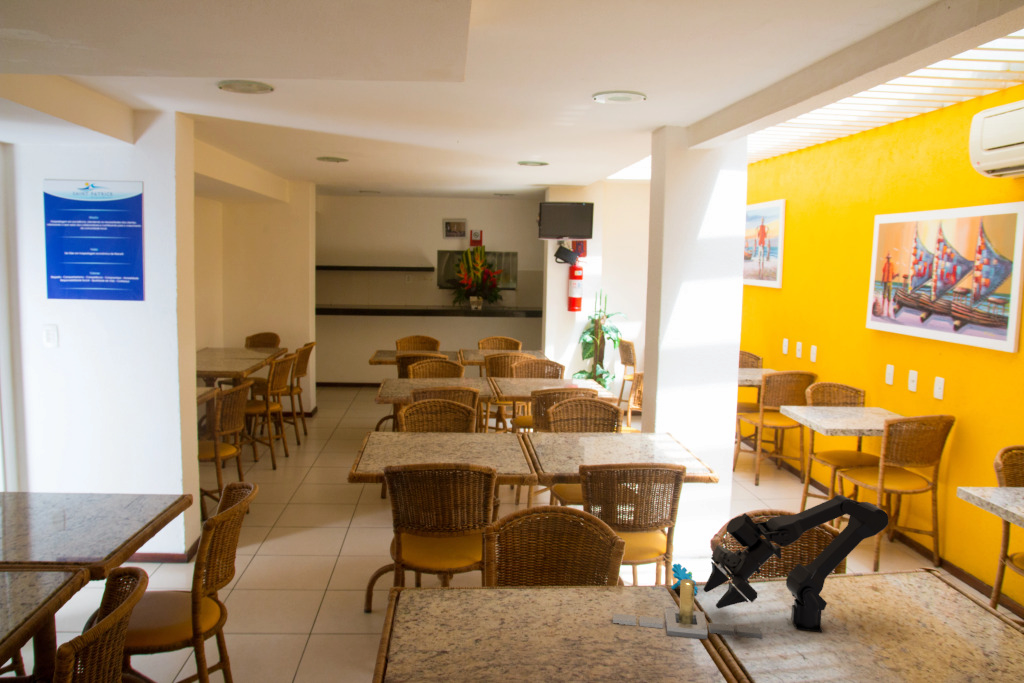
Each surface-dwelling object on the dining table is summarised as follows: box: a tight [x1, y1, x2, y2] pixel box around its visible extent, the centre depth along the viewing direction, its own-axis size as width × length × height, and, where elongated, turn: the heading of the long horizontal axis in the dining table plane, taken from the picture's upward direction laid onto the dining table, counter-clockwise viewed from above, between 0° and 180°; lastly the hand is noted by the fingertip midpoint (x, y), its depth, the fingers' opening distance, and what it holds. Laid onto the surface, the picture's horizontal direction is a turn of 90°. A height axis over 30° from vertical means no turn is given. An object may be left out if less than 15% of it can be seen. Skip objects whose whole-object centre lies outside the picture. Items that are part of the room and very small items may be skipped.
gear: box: [671, 563, 699, 596], centre depth 207 cm, size 11×6×10 cm
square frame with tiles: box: [612, 608, 763, 640], centre depth 184 cm, size 38×10×2 cm, turn 80°
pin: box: [678, 579, 696, 625], centre depth 184 cm, size 4×4×12 cm
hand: (710, 598), depth 184 cm, fingers open, 9 cm apart
